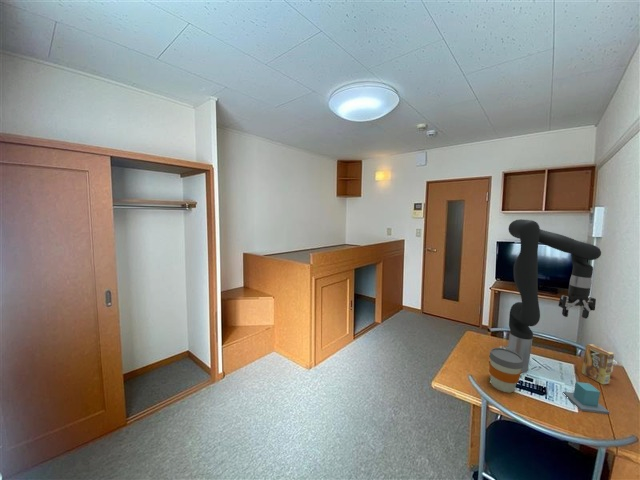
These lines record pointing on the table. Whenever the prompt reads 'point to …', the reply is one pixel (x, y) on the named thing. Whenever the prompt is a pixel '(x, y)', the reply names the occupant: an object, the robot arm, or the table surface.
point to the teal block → (586, 394)
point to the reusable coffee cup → (505, 369)
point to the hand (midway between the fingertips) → (574, 317)
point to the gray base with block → (584, 407)
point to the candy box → (597, 363)
